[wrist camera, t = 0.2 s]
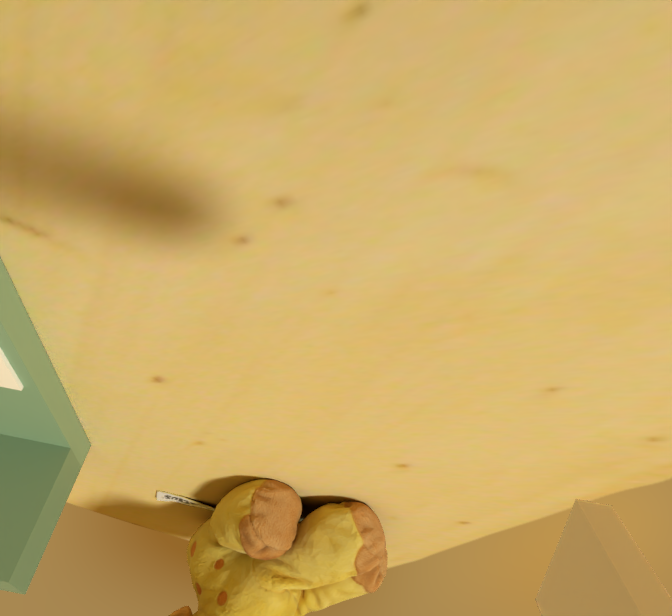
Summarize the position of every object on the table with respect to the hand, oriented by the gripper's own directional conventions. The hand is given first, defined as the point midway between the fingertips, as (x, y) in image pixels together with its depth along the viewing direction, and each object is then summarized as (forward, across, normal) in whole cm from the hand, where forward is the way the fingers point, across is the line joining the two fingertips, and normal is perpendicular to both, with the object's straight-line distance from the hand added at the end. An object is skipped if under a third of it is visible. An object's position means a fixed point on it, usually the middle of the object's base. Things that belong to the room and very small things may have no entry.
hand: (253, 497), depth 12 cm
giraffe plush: (+38, +2, -32) cm, 49 cm away
